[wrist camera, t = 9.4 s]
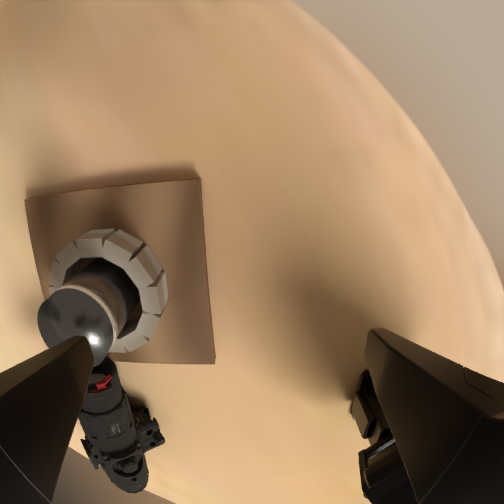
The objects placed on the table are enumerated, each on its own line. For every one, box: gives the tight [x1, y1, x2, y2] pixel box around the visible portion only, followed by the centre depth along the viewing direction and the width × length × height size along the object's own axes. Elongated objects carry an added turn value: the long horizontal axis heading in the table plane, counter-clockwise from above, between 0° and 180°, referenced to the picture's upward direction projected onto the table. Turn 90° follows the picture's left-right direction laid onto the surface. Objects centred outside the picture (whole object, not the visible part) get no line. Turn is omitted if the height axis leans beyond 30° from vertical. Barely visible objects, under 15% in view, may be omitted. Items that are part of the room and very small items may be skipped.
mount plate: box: [25, 179, 216, 364], centre depth 20 cm, size 14×14×4 cm
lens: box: [37, 257, 140, 367], centre depth 18 cm, size 5×5×7 cm
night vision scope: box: [78, 356, 165, 493], centre depth 23 cm, size 8×18×10 cm
